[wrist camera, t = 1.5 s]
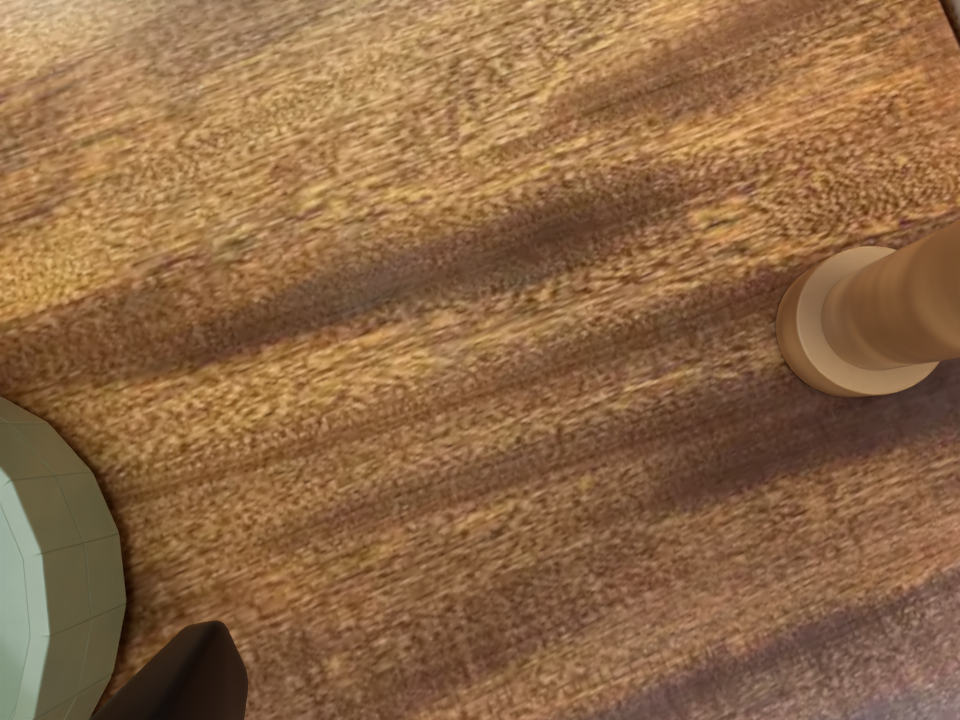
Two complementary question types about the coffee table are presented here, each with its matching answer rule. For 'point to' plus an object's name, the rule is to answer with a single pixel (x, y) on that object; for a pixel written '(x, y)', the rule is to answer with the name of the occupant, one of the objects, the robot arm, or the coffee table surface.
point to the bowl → (54, 576)
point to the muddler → (874, 316)
